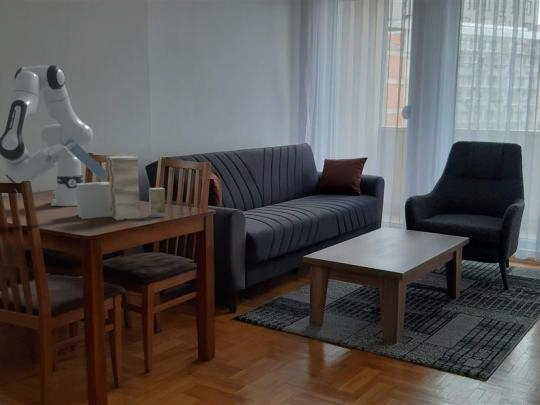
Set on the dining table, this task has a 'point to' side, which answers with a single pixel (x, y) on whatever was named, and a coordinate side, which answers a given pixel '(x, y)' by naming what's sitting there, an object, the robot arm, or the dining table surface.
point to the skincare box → (156, 202)
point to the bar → (87, 160)
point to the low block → (93, 200)
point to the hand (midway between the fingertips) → (73, 142)
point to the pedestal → (124, 187)
